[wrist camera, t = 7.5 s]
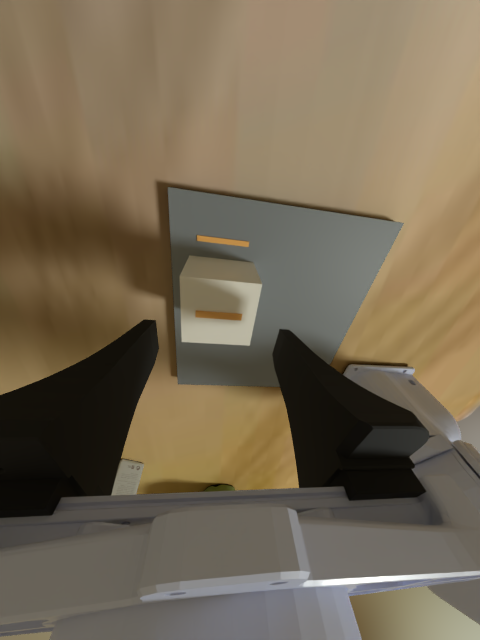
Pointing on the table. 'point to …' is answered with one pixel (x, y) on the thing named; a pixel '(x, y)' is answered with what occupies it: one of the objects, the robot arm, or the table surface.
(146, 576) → the robot arm
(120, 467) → the skincare box
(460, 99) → the table surface
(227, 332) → the white drawer cabinet
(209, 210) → the plate
